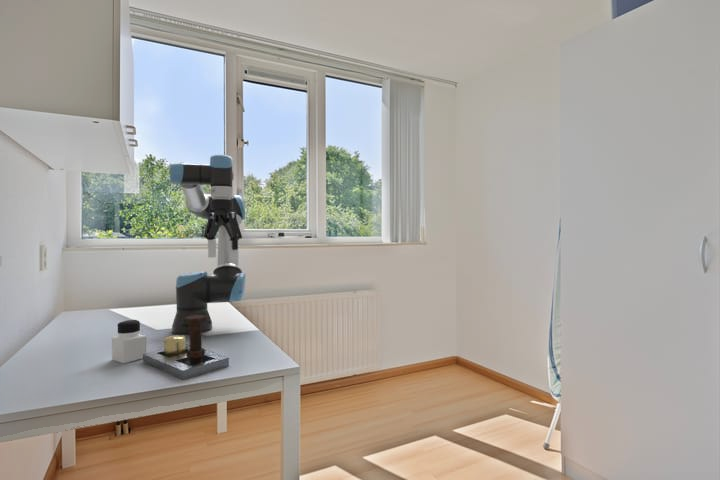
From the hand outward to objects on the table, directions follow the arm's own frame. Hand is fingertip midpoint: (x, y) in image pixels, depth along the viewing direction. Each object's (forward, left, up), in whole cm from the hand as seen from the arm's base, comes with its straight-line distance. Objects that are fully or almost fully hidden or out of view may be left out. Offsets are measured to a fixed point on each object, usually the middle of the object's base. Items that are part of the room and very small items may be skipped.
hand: (222, 258), depth 143 cm
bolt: (+18, -21, -30) cm, 41 cm away
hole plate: (+12, -21, -30) cm, 39 cm away
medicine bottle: (-7, -29, -30) cm, 43 cm away
